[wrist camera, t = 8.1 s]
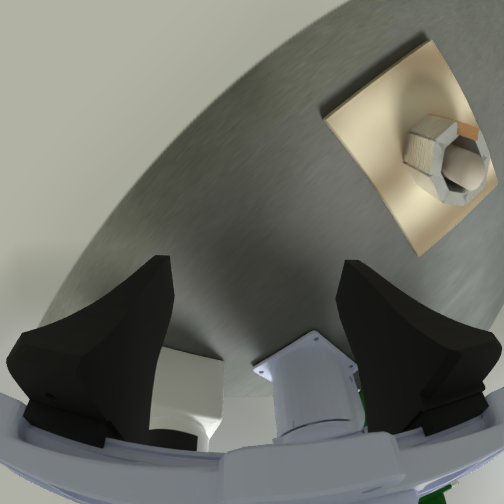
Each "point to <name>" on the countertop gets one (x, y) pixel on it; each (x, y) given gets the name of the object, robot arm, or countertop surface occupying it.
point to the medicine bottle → (186, 400)
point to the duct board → (394, 138)
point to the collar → (432, 152)
